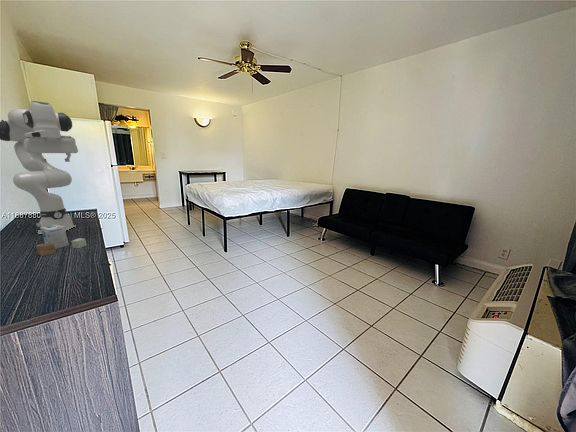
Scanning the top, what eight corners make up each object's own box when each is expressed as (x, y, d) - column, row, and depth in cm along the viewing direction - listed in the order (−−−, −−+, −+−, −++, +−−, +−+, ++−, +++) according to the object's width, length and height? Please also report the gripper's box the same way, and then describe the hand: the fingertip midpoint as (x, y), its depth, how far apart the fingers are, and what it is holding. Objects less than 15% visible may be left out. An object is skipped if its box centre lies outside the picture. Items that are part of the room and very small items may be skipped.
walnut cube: (38, 254, 115) (35, 245, 113) (52, 251, 119) (49, 242, 118) (42, 256, 112) (39, 247, 111) (56, 253, 117) (53, 243, 115)
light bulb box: (45, 246, 126) (39, 227, 123) (61, 242, 132) (56, 224, 129) (53, 249, 121) (47, 230, 118) (69, 245, 127) (64, 226, 124)
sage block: (73, 248, 123) (71, 240, 122) (80, 245, 127) (78, 238, 126) (79, 248, 122) (77, 241, 121) (86, 245, 126) (85, 238, 125)
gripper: (71, 136, 132) (77, 161, 135) (19, 134, 114) (27, 162, 118) (76, 135, 129) (82, 161, 132) (23, 133, 111) (32, 162, 115)
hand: (56, 162), depth 125 cm, fingers open, 8 cm apart
